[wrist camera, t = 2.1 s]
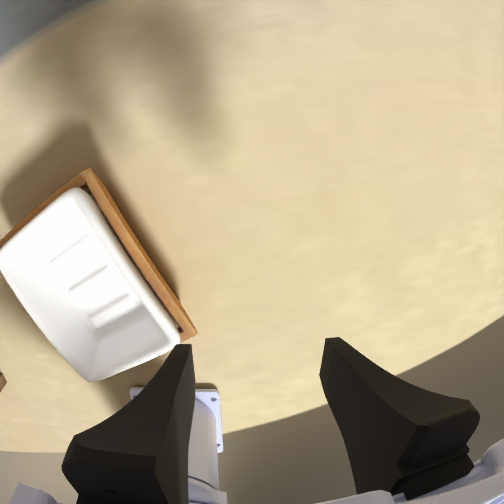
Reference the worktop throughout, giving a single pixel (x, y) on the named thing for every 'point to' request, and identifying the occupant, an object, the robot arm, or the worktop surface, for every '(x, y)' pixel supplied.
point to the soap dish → (91, 282)
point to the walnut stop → (2, 382)
